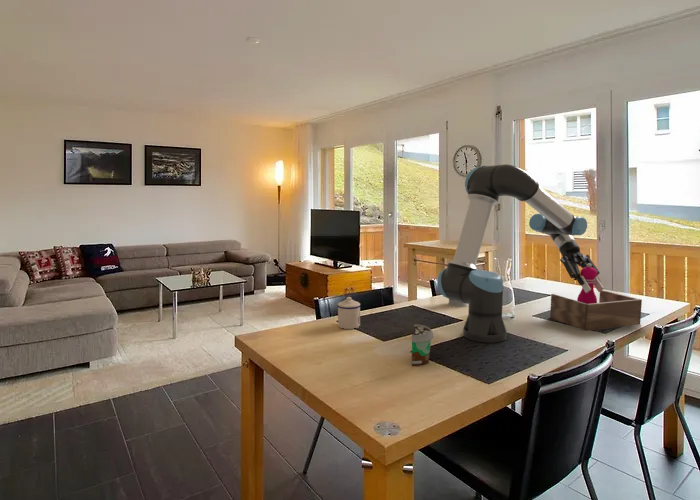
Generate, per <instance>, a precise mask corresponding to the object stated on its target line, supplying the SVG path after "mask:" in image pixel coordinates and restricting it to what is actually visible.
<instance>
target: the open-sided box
mask: <svg viewBox="0 0 700 500" xmlns="http://www.w3.org/2000/svg"><path fill="white" fill-rule="evenodd" d="M550 295H551V296H550V309H549V310H550V313H549V314H550V316H549V318H550V319H552V320H556V321H557V322H561V323H564V324H567V325H569V326H572V327H575V328H577V329H579V330H583V331H585V332H587V331H595V330H605V329H613V328H623V327H630V326H631V327H632V326H640V325H641V319H642V304H643V300H642V299H641V298H636V297H633V296H628V295H625V294H620V293H617V292H612V291H608V290H604V289H603V290H602V291H600V292H599V300H598V302H597V303H592V304H586V303H583V302H579V301H577V299H576V300H575V299H573V298H568V297H565V296H561V295H558V294H554V293H552V294H550Z"/></svg>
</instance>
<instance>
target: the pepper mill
mask: <svg viewBox="0 0 700 500" xmlns="http://www.w3.org/2000/svg"><path fill="white" fill-rule="evenodd" d="M591 266H592V264H591V263H588V264H587V267H584V268H582V269H580V274H581V276H583V277H584V278H585V280H586V281H587V283H588V285H589V286H590V288H591V290H590V291H589V292H588V293H585V291H584V289H583V288H582V287H581V290H580V292H579V294H578V295H577V299H576V301H579V302H583V303H586V304H592V303H598V298H597V295H596V292H595V291H594V287H595V286H594V283H595V279H594V278H595V277H596V276H597V277H598V275H597V271H596V269H595V268H593V267H591Z"/></svg>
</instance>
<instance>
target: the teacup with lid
mask: <svg viewBox="0 0 700 500" xmlns="http://www.w3.org/2000/svg"><path fill="white" fill-rule="evenodd" d="M361 305H362V304H361V303H360V302H359V301H356V300H354V299H352V297H351V296H347V297H346V299H344V300H343V301H340V302H338V303H337V320H338V321H337V322H338V323H337V324H338V325H337V326H338V328H340V329H342V328H344V329H343V330H354V328H356V329H358V328H360V327H361ZM359 326H360V327H359Z"/></svg>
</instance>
